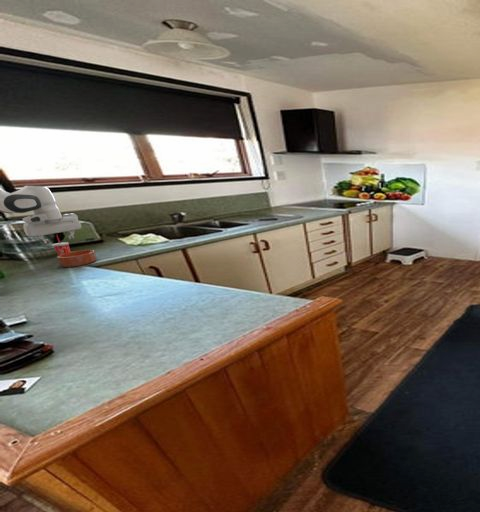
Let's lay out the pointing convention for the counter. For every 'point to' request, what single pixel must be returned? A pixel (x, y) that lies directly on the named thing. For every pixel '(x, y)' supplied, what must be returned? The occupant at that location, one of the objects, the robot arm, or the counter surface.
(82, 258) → the bowl
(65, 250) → the beverage cup
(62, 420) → the counter surface
